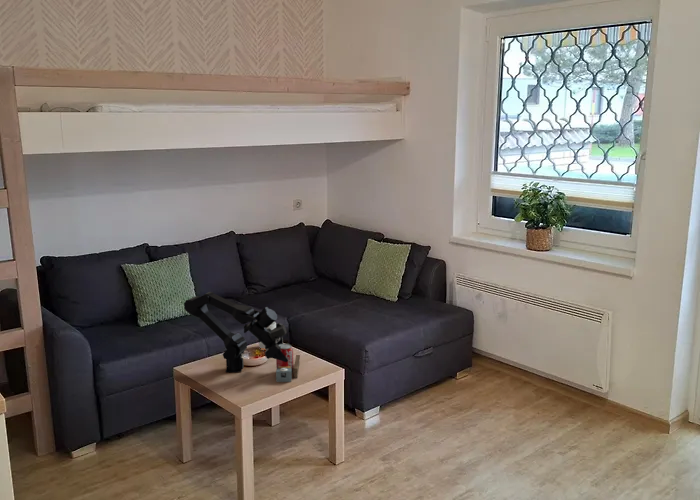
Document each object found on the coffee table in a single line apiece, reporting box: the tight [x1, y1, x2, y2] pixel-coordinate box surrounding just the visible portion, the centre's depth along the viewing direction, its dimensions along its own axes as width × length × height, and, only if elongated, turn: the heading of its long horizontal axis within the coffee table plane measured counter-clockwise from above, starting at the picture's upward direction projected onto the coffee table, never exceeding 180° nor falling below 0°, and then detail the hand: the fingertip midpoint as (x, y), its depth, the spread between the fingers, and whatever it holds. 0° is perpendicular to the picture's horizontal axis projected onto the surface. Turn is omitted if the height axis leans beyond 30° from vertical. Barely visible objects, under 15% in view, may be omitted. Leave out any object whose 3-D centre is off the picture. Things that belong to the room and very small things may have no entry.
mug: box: [258, 321, 277, 349], centre depth 300 cm, size 8×12×12 cm
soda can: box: [275, 343, 294, 373], centre depth 273 cm, size 7×7×12 cm
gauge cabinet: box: [275, 368, 293, 383], centre depth 267 cm, size 6×4×5 cm, turn 91°
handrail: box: [293, 354, 301, 379], centre depth 276 cm, size 2×15×4 cm, turn 1°
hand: (288, 358), depth 273 cm, fingers closed on soda can, 7 cm apart
